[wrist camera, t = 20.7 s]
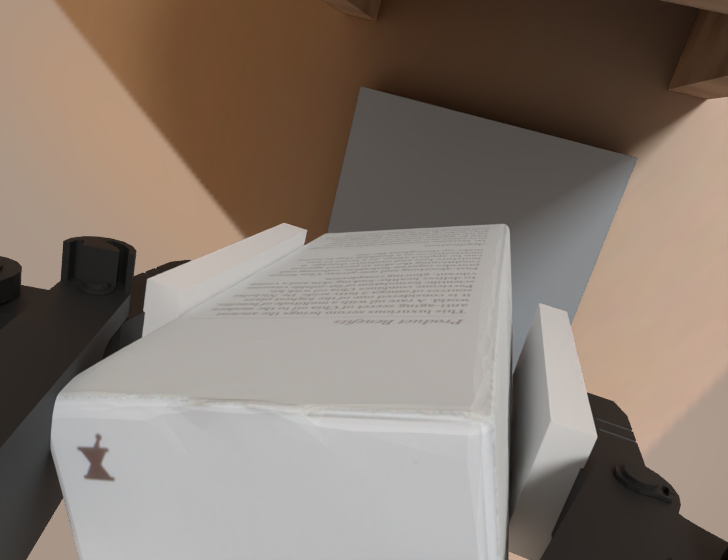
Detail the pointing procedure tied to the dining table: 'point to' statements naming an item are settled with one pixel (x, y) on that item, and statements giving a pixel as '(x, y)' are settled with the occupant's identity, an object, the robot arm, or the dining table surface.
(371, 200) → the pull-out tray
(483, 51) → the dining table surface
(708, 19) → the walnut shelf
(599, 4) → the dining table surface
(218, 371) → the skincare box
